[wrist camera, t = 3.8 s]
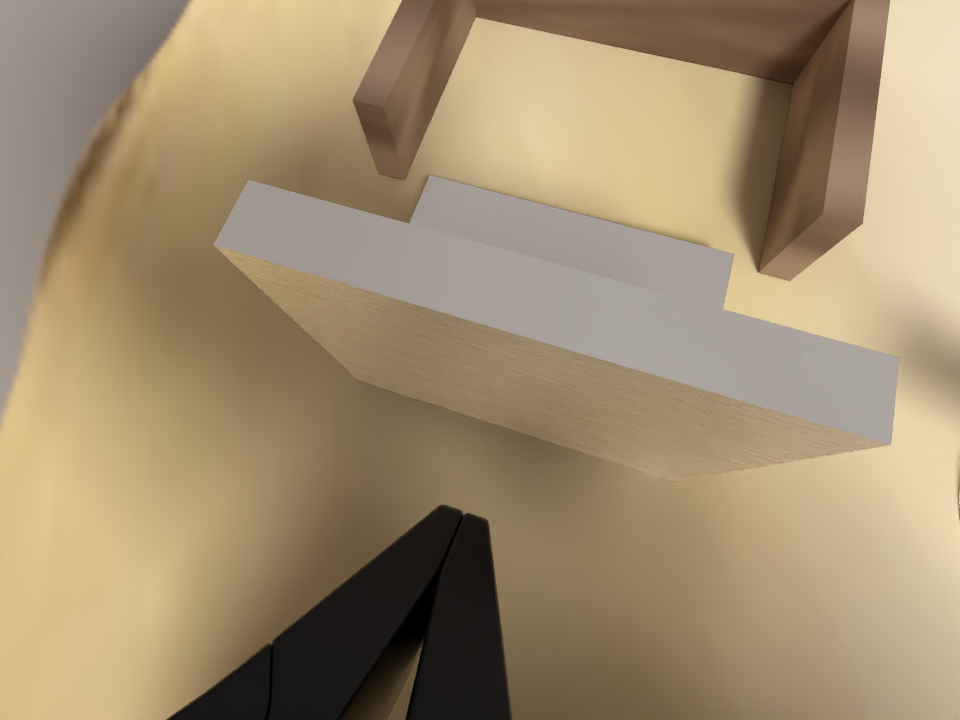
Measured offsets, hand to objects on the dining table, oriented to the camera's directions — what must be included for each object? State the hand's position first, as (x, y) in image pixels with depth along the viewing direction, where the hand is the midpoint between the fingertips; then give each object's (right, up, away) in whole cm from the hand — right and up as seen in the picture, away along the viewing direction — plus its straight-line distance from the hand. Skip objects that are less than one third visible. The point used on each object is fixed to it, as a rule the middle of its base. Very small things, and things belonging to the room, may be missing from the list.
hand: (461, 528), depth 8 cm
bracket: (+3, +4, +11) cm, 12 cm away
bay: (+6, +14, +13) cm, 20 cm away
